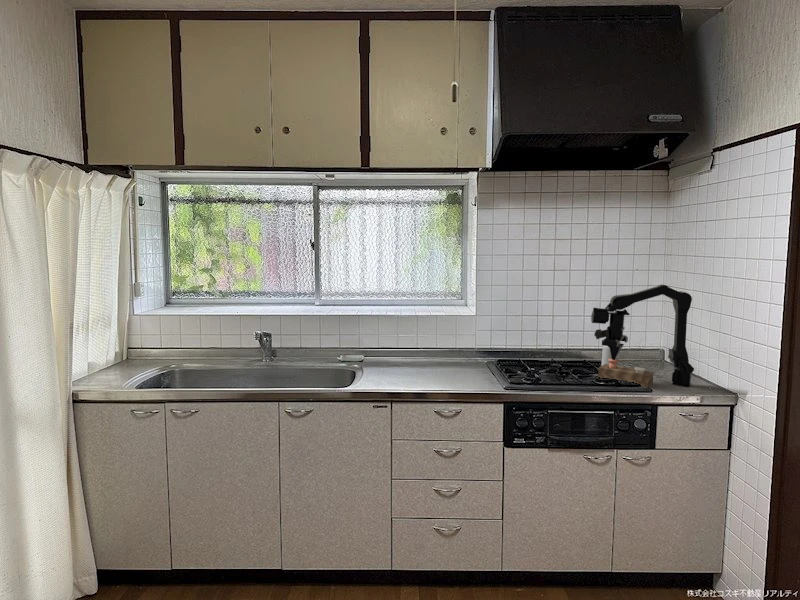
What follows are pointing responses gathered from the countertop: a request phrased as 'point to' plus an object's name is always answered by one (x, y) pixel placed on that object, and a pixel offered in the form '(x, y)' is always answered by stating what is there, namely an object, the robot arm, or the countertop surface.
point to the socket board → (626, 375)
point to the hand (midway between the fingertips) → (613, 359)
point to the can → (607, 355)
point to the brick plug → (613, 363)
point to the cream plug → (639, 370)
